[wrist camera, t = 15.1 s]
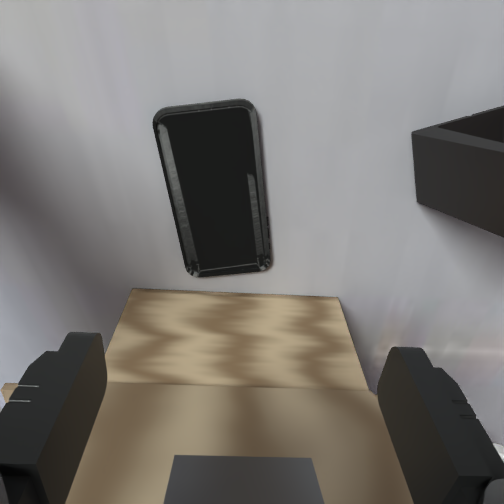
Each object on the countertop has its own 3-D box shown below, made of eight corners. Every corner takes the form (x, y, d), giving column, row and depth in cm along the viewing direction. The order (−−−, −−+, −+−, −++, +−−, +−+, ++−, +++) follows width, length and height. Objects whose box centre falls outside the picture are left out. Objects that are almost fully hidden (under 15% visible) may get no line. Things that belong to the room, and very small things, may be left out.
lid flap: (-175, 759, 10) (-206, 519, 9) (91, 390, 27) (91, 298, 26) (599, 747, 11) (650, 530, 10) (370, 398, 28) (380, 310, 27)
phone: (187, 278, 36) (149, 110, 29) (189, 271, 37) (152, 107, 30) (272, 270, 36) (256, 98, 28) (271, 263, 37) (256, 95, 29)
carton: (91, 408, 46) (49, 517, 36) (65, 285, 37) (-2, 384, 27) (361, 416, 48) (393, 522, 38) (400, 300, 39) (455, 399, 29)
